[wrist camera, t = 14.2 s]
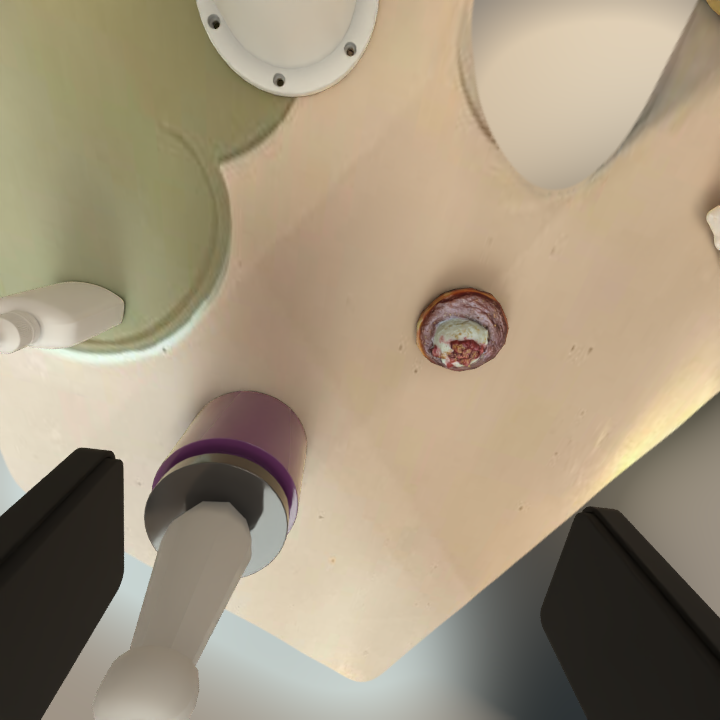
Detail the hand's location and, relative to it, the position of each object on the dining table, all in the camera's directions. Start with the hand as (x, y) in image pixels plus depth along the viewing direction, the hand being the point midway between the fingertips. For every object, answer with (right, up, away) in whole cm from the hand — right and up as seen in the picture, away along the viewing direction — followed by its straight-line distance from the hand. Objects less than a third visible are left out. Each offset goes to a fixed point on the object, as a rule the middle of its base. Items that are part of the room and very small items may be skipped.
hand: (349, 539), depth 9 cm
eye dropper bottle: (-22, +9, +28) cm, 37 cm away
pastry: (+9, +7, +30) cm, 32 cm away
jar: (-10, -4, +33) cm, 35 cm away
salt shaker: (-10, -8, +22) cm, 26 cm away
